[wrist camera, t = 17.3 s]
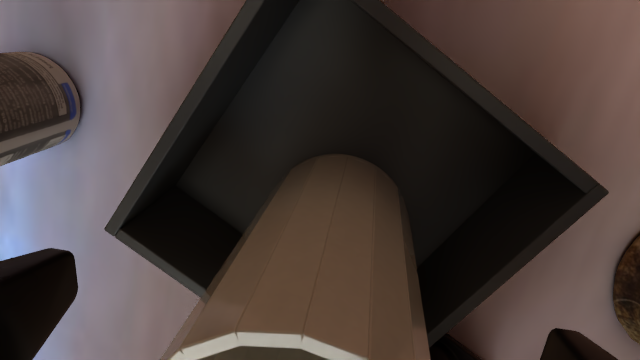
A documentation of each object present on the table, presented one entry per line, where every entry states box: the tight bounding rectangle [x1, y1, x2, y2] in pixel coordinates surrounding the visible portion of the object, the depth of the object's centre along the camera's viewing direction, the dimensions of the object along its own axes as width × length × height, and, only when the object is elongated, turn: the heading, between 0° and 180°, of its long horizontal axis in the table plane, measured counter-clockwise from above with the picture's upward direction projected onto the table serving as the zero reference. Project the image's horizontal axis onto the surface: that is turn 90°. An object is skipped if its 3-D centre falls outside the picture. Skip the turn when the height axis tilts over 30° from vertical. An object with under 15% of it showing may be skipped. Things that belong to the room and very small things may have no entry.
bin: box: [105, 0, 609, 347], centre depth 18 cm, size 13×13×6 cm
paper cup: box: [160, 154, 431, 360], centre depth 15 cm, size 7×7×12 cm
